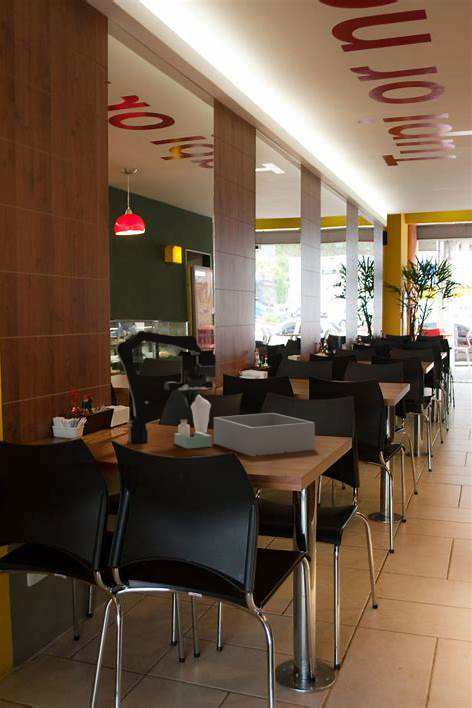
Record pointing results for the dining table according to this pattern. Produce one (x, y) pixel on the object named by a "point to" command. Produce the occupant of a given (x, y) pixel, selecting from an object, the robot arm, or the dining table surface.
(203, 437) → the teal rectangular tray
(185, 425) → the bottle
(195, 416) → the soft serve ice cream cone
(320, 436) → the dining table surface
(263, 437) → the frame
